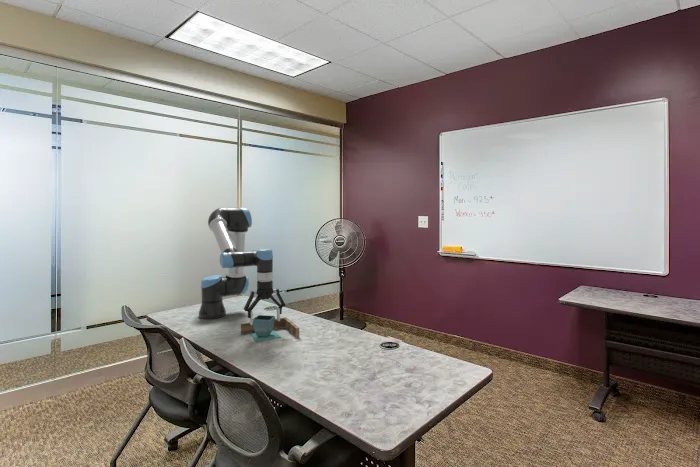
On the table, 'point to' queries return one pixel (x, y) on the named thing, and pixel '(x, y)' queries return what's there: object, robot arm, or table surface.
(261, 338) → the pad
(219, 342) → the table surface
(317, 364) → the table surface
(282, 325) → the corner arena
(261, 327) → the flower pot
